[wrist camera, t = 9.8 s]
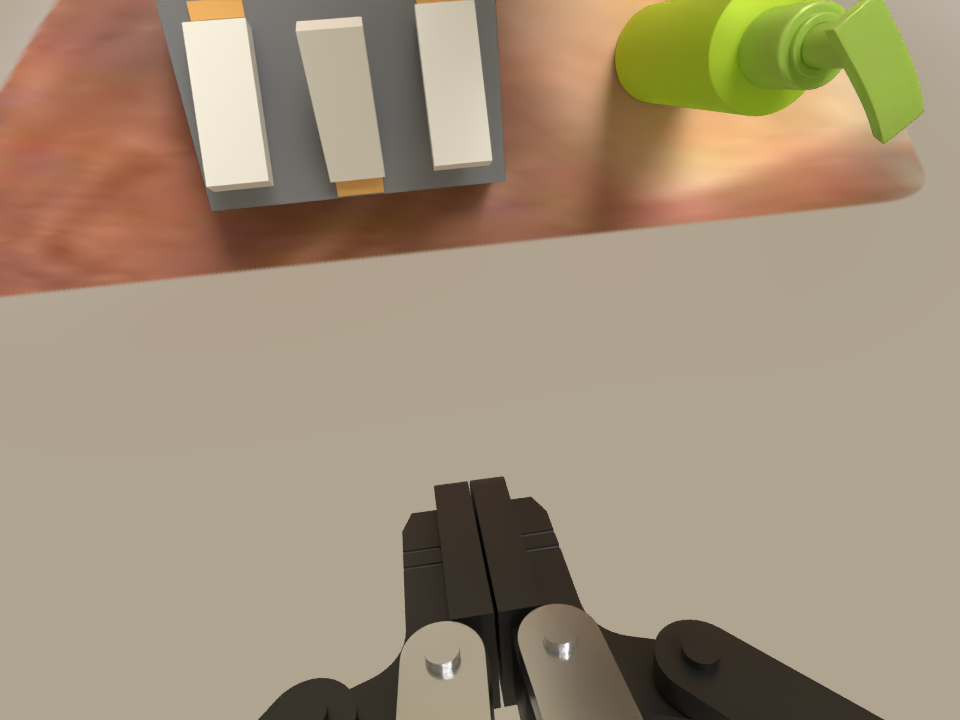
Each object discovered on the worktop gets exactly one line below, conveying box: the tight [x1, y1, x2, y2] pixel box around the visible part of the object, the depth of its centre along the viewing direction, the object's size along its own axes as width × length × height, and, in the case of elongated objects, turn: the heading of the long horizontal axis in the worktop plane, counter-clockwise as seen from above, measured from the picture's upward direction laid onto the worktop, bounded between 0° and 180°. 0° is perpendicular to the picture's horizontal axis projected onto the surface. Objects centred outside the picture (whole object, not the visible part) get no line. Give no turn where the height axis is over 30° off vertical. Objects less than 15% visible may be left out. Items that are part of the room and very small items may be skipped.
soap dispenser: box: [615, 0, 924, 144], centre depth 31 cm, size 6×7×20 cm
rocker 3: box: [415, 0, 492, 171], centre depth 34 cm, size 3×8×1 cm, turn 5°
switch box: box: [156, 0, 506, 211], centre depth 36 cm, size 18×11×5 cm, turn 95°
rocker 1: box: [182, 18, 274, 192], centre depth 32 cm, size 3×8×1 cm, turn 5°
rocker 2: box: [296, 17, 385, 182], centre depth 33 cm, size 3×8×1 cm, turn 5°
